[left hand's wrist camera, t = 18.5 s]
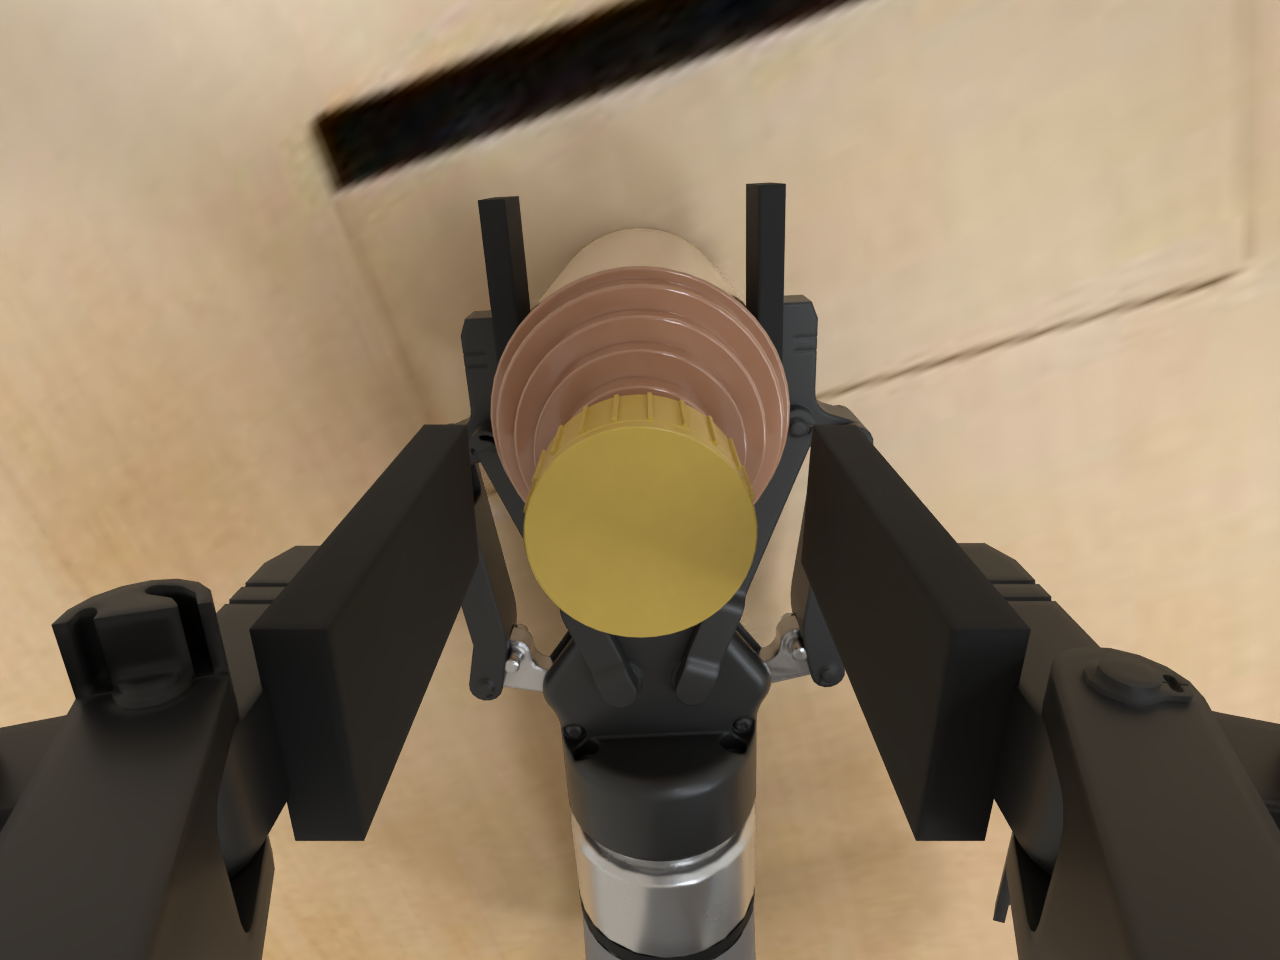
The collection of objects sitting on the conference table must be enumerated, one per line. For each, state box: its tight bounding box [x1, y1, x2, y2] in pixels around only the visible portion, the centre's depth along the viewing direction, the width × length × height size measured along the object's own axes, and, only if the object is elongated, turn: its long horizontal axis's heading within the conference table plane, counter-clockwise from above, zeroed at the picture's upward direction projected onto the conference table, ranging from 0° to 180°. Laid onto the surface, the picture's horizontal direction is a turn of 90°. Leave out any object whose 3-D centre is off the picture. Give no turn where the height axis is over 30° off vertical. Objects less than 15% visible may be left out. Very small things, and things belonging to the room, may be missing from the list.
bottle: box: [491, 228, 790, 505], centre depth 22 cm, size 7×7×18 cm
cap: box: [523, 392, 758, 638], centre depth 13 cm, size 4×4×2 cm
